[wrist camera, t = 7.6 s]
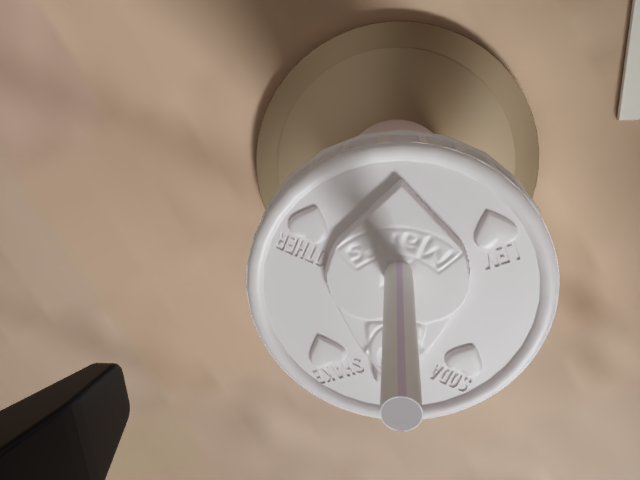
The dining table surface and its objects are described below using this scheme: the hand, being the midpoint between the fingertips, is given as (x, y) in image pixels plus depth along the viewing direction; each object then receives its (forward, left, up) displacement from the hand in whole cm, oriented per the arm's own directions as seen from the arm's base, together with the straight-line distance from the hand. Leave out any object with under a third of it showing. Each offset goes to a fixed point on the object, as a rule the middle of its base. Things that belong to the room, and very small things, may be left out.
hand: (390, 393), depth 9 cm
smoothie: (0, 0, -13) cm, 13 cm away
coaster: (0, 0, -13) cm, 13 cm away
